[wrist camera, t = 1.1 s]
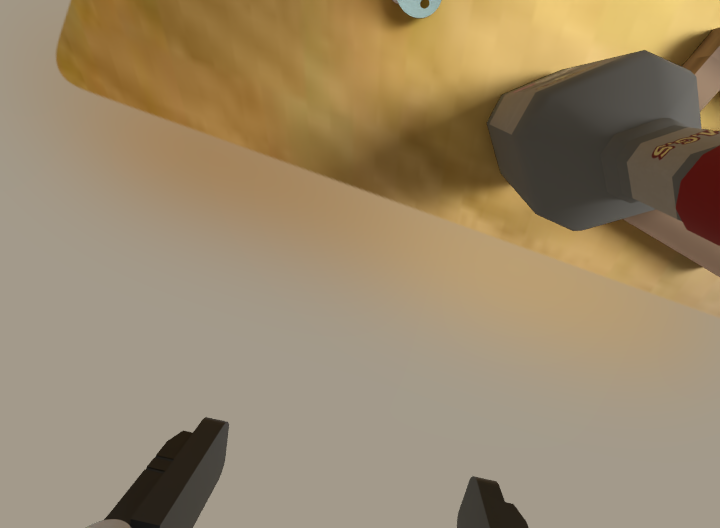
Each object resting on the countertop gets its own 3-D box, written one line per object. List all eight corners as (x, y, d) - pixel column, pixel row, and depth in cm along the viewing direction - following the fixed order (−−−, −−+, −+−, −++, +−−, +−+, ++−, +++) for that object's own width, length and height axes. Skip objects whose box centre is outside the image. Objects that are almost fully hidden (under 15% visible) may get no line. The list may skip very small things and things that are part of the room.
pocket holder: (713, 29, 31) (739, 22, 28) (866, 125, 32) (906, 128, 29) (576, 191, 38) (587, 198, 35) (704, 267, 39) (724, 279, 36)
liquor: (480, 103, 37) (601, 113, 10) (580, 61, 34) (1153, -92, 7) (504, 188, 39) (649, 381, 12) (598, 156, 36) (1052, 317, 10)
